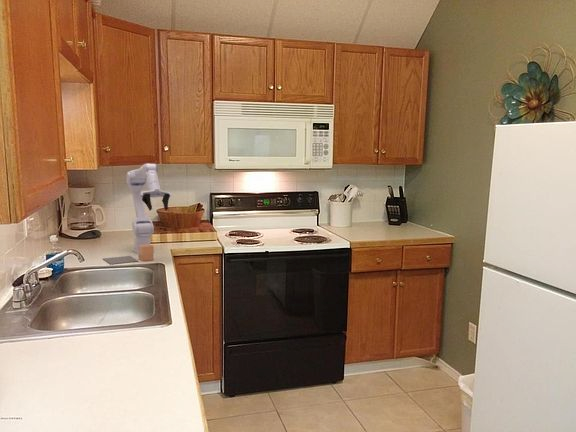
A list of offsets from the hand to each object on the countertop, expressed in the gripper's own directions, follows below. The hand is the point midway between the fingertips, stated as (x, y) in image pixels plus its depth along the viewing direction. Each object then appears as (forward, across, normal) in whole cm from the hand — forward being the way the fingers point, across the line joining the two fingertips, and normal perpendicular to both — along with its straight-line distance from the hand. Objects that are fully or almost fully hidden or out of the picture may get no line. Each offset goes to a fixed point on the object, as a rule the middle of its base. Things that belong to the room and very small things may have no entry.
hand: (158, 209), depth 213 cm
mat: (+13, -13, +26) cm, 32 cm away
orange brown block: (+15, -2, +22) cm, 27 cm away
